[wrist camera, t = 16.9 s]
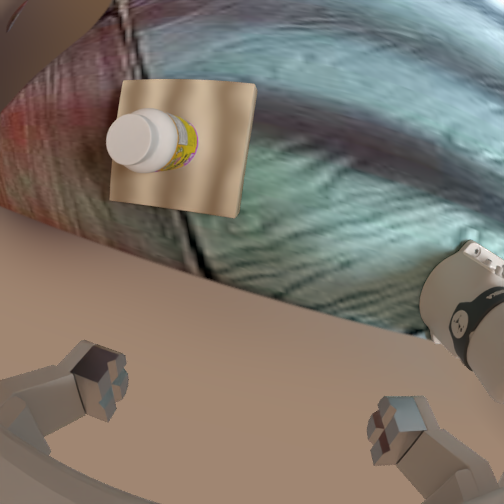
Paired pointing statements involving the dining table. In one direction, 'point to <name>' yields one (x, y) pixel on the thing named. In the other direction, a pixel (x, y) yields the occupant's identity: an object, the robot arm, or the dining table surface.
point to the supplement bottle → (152, 141)
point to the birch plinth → (209, 152)
